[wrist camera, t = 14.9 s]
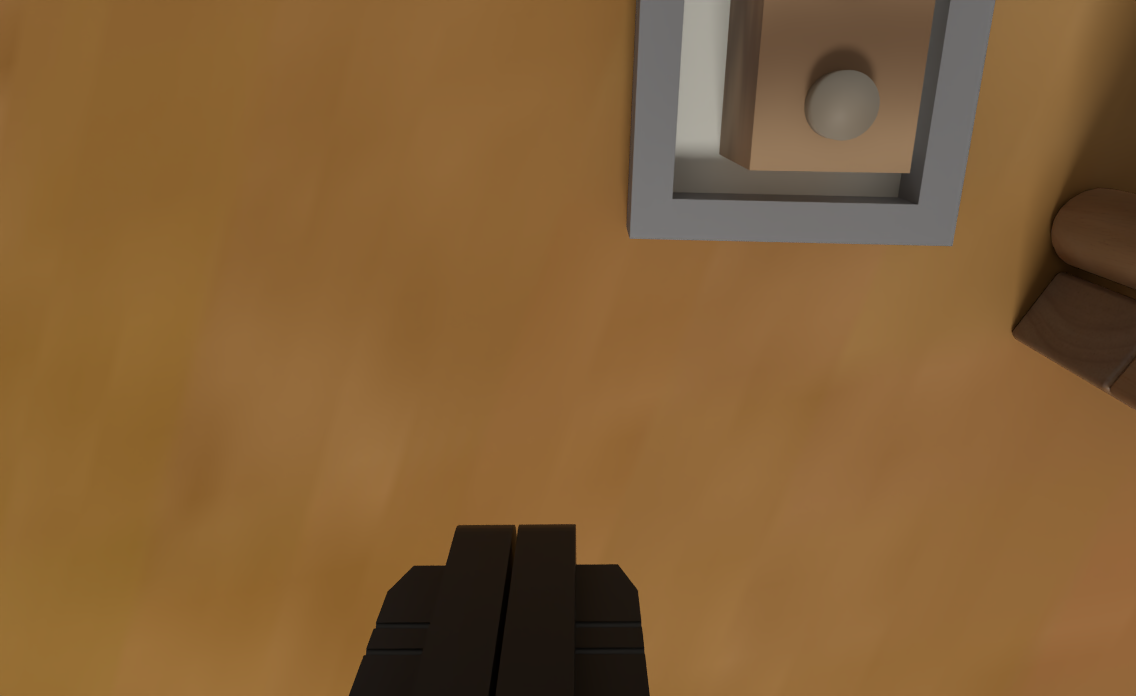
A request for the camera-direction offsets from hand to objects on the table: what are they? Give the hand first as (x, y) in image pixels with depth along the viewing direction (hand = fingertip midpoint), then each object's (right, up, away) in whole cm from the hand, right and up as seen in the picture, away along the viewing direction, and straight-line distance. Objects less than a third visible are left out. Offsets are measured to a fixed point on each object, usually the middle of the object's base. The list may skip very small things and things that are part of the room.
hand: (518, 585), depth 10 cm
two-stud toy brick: (+9, +14, +19) cm, 25 cm away
